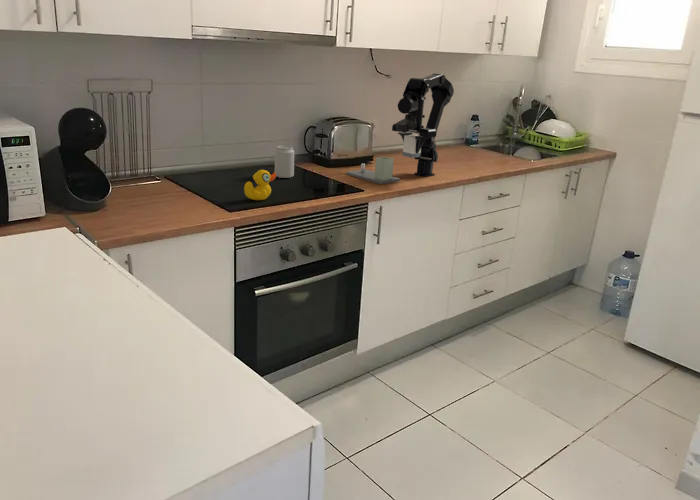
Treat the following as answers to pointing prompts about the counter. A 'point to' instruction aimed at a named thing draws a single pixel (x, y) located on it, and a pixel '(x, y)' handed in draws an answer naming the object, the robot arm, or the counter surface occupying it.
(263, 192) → the duckling
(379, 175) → the pin board
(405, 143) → the sleeve
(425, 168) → the robot arm
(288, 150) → the can
